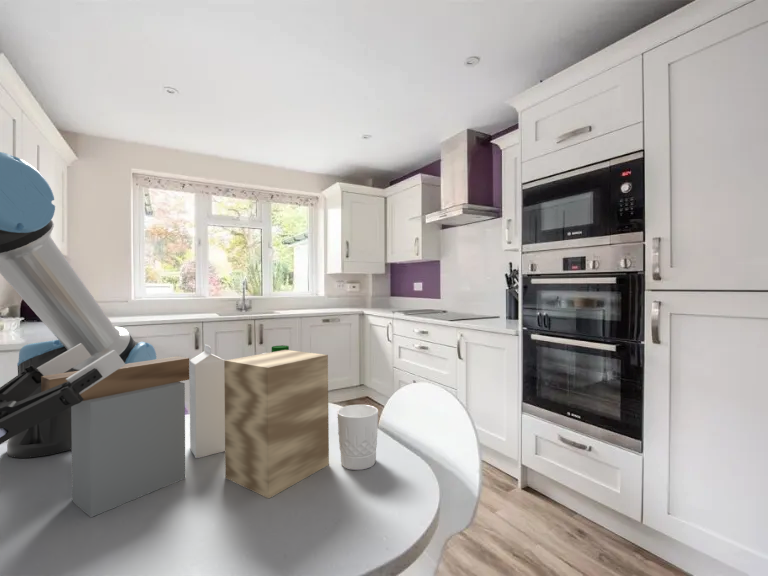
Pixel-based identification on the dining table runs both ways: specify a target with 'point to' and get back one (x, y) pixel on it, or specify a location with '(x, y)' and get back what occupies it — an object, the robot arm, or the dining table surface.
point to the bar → (129, 377)
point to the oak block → (275, 419)
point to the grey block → (127, 446)
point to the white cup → (358, 436)
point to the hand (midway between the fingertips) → (101, 352)
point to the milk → (207, 404)
